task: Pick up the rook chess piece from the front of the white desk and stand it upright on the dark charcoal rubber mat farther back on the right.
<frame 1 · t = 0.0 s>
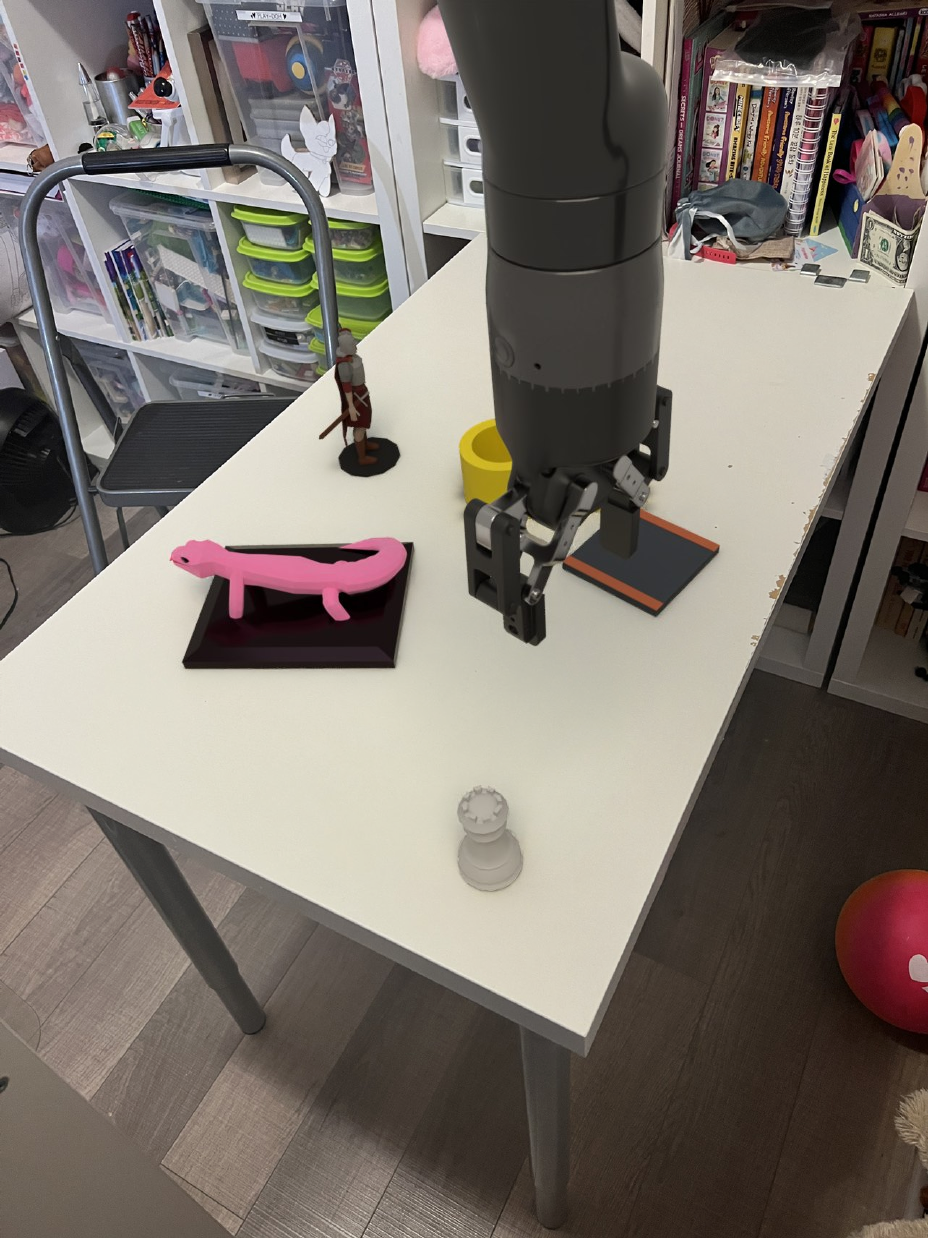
hand: (574, 591, 51), 20 cm above the table, tool pointing down, fingers open, 8 cm apart
mat: (640, 560, 80), on the table
rook chess piece: (491, 865, 61), on the table
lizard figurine: (299, 607, 80), on the table
crank: (555, 494, 87), on the table
figurine: (366, 459, 94), on the table
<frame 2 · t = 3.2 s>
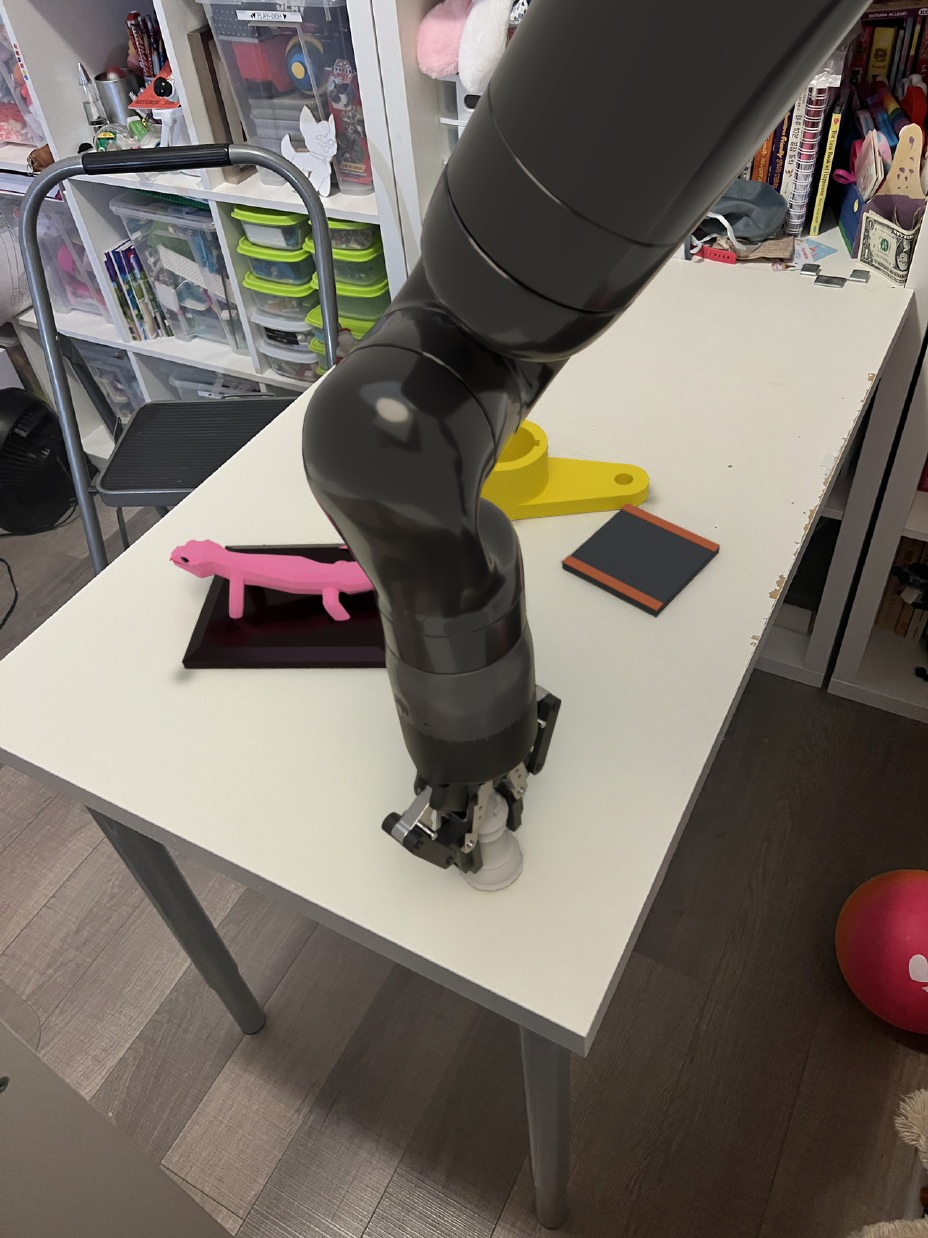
hand: (487, 840, 59), 3 cm above the table, tool pointing down, fingers closed on rook chess piece, 3 cm apart
rook chess piece: (491, 865, 61), on the table, touching gripper
everything else where it was.
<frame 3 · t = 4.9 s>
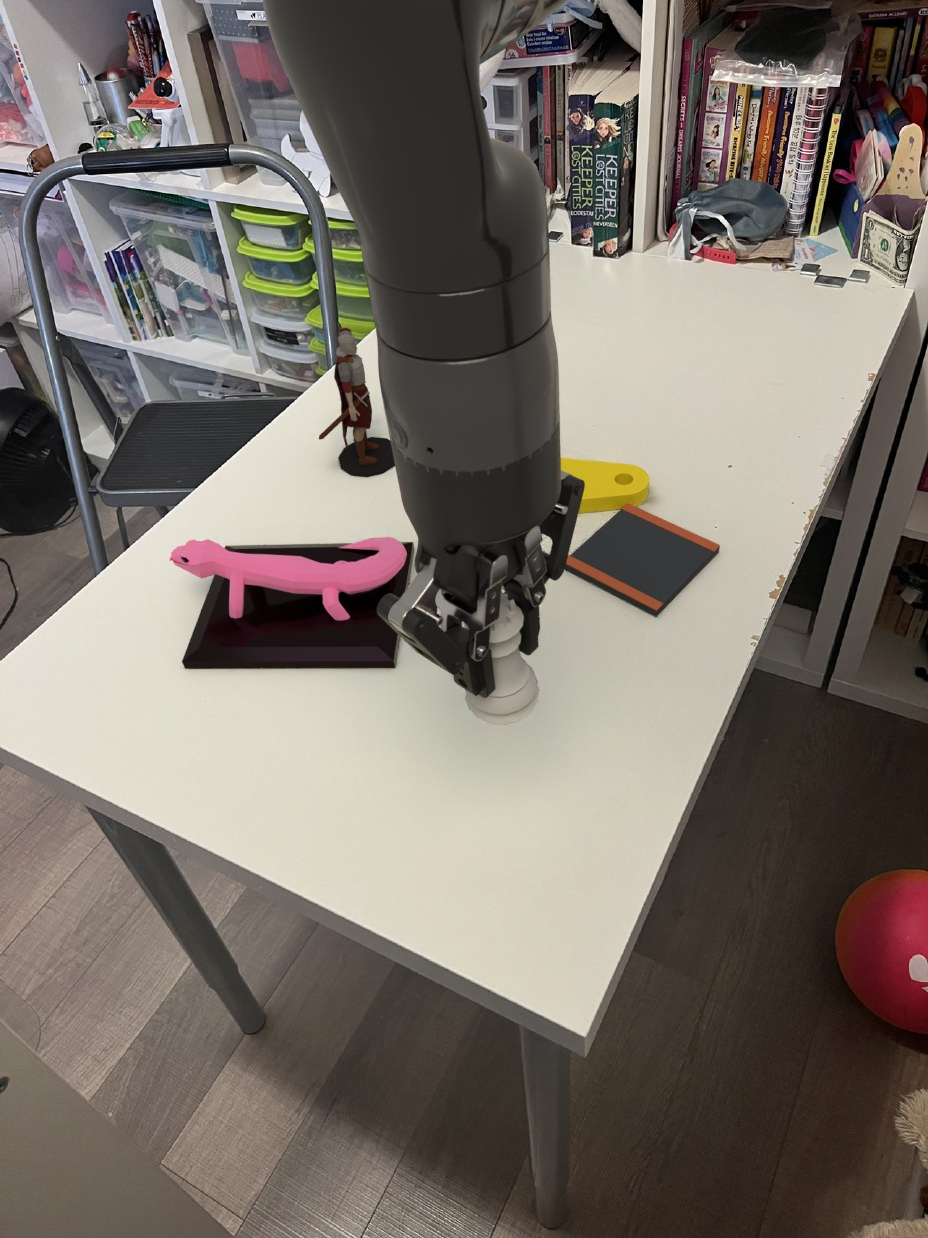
hand: (499, 665, 51), 17 cm above the table, tool pointing down, fingers closed on rook chess piece, 3 cm apart
rook chess piece: (502, 701, 53), point 14 cm above the table, touching gripper
everything else where it was.
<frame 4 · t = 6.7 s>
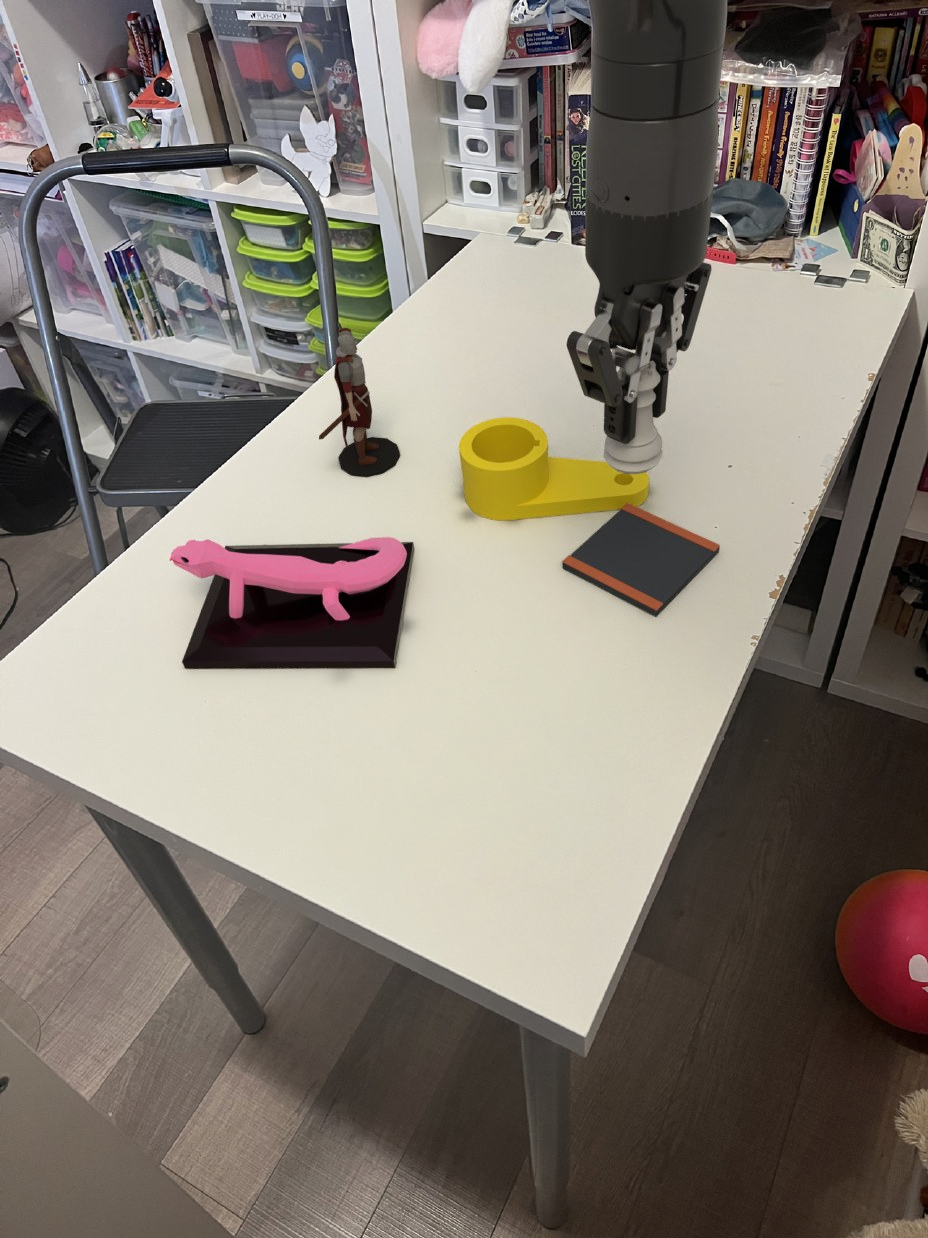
hand: (635, 424, 65), 17 cm above the table, tool pointing down, fingers closed on rook chess piece, 3 cm apart
rook chess piece: (632, 460, 68), point 14 cm above the table, touching gripper
everything else where it was.
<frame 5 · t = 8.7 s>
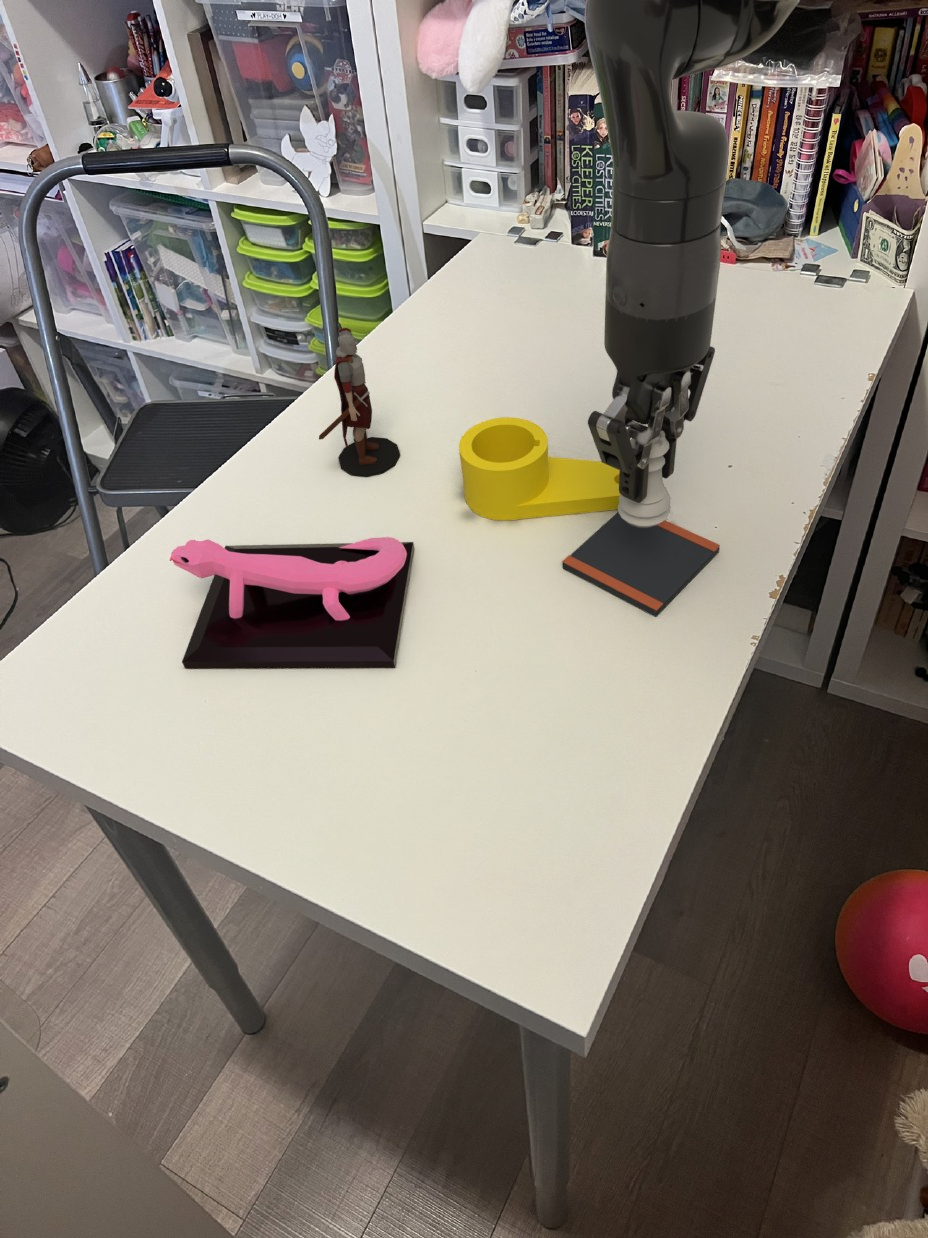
hand: (646, 484, 73), 9 cm above the table, tool pointing down, fingers closed on rook chess piece, 3 cm apart
rook chess piece: (643, 514, 76), point 5 cm above the table, touching gripper
everything else where it was.
when the fingers open (4 cm above the table, at t = 10.2 s): rook chess piece stays where it is, resting on mat.
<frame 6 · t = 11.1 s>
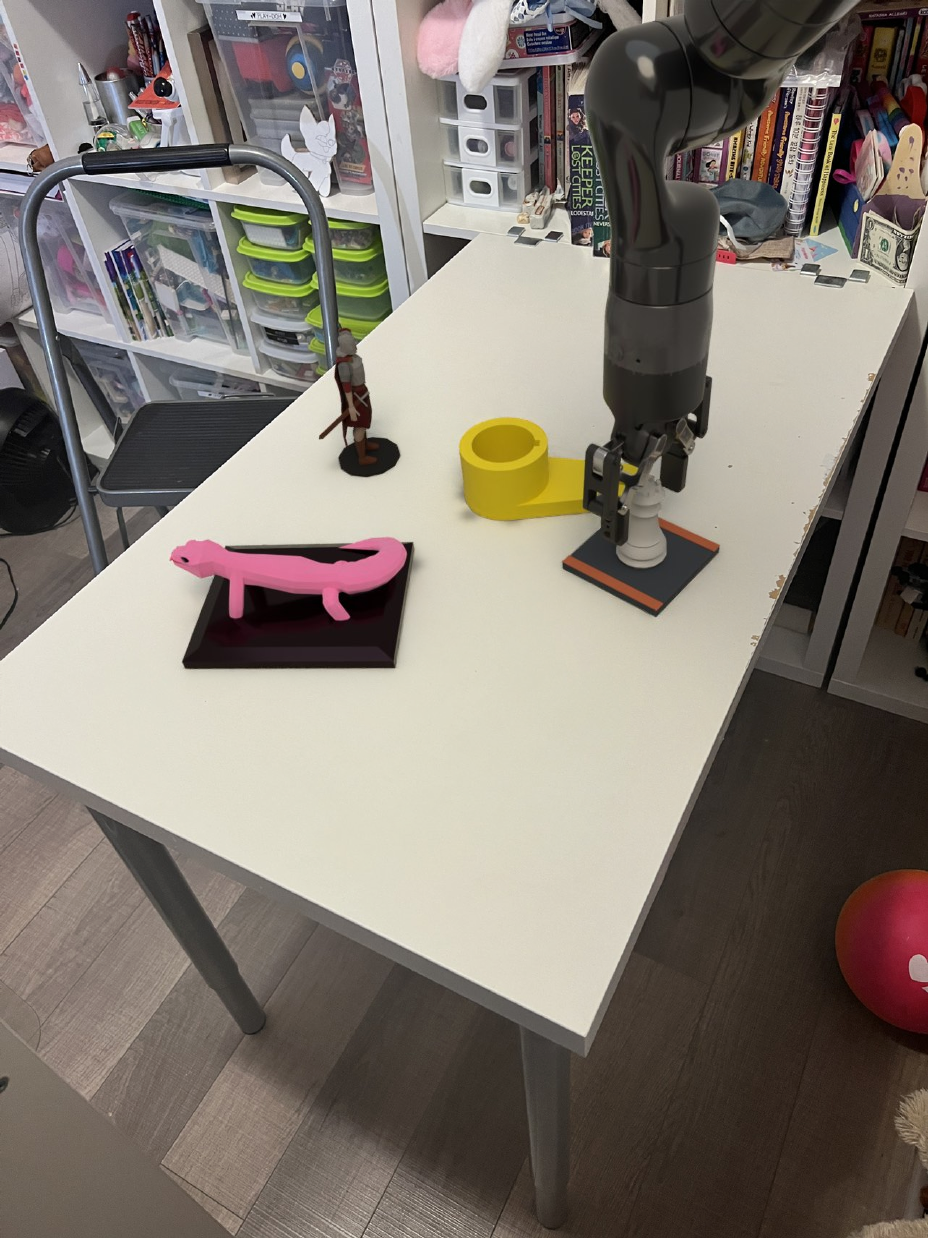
hand: (644, 513, 76), 6 cm above the table, tool pointing down, fingers open, 8 cm apart
rook chess piece: (640, 556, 79), point 1 cm above the table, touching mat
everything else where it was.
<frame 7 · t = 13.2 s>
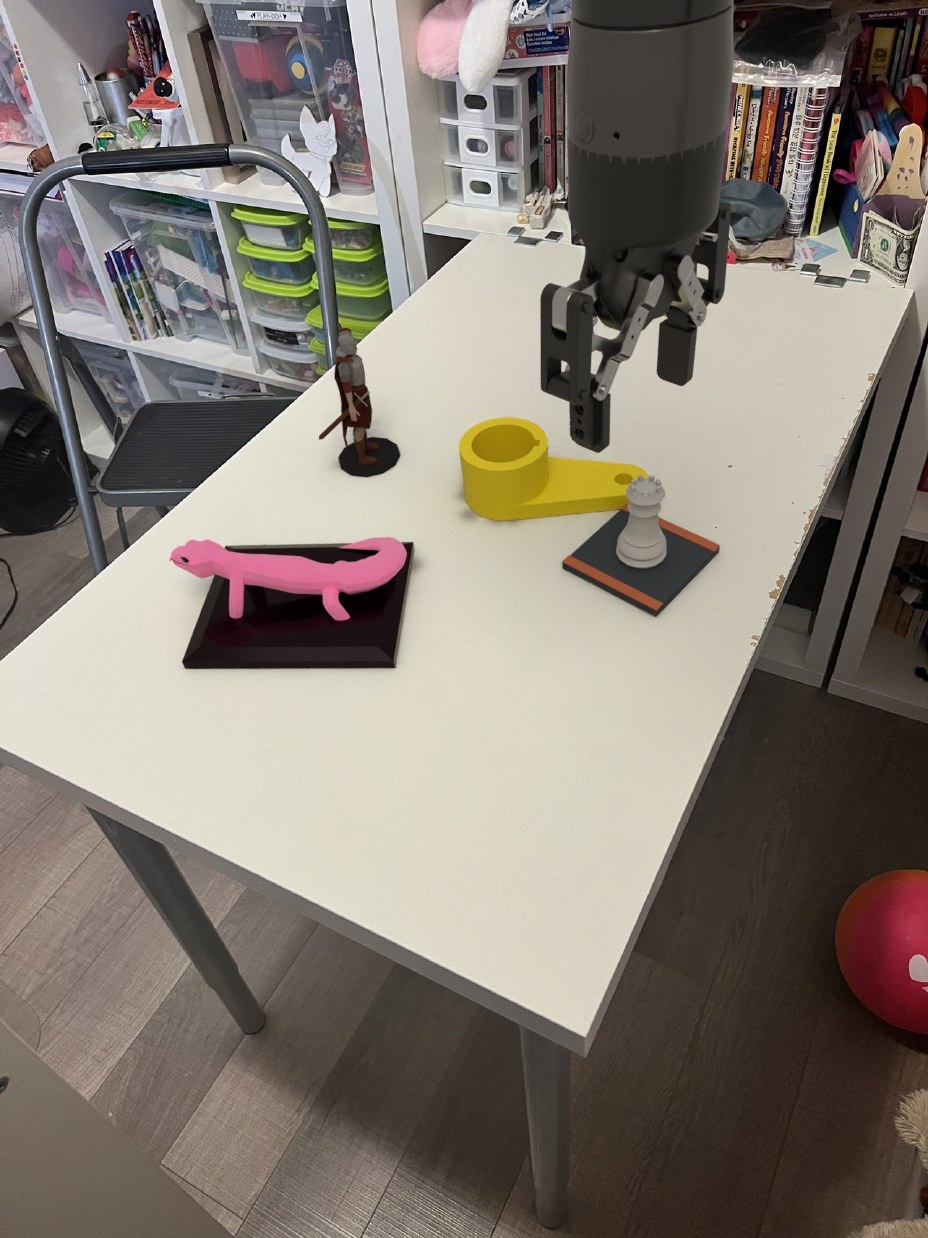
hand: (634, 411, 54), 24 cm above the table, tool pointing down, fingers open, 8 cm apart
nothing on the table moved.
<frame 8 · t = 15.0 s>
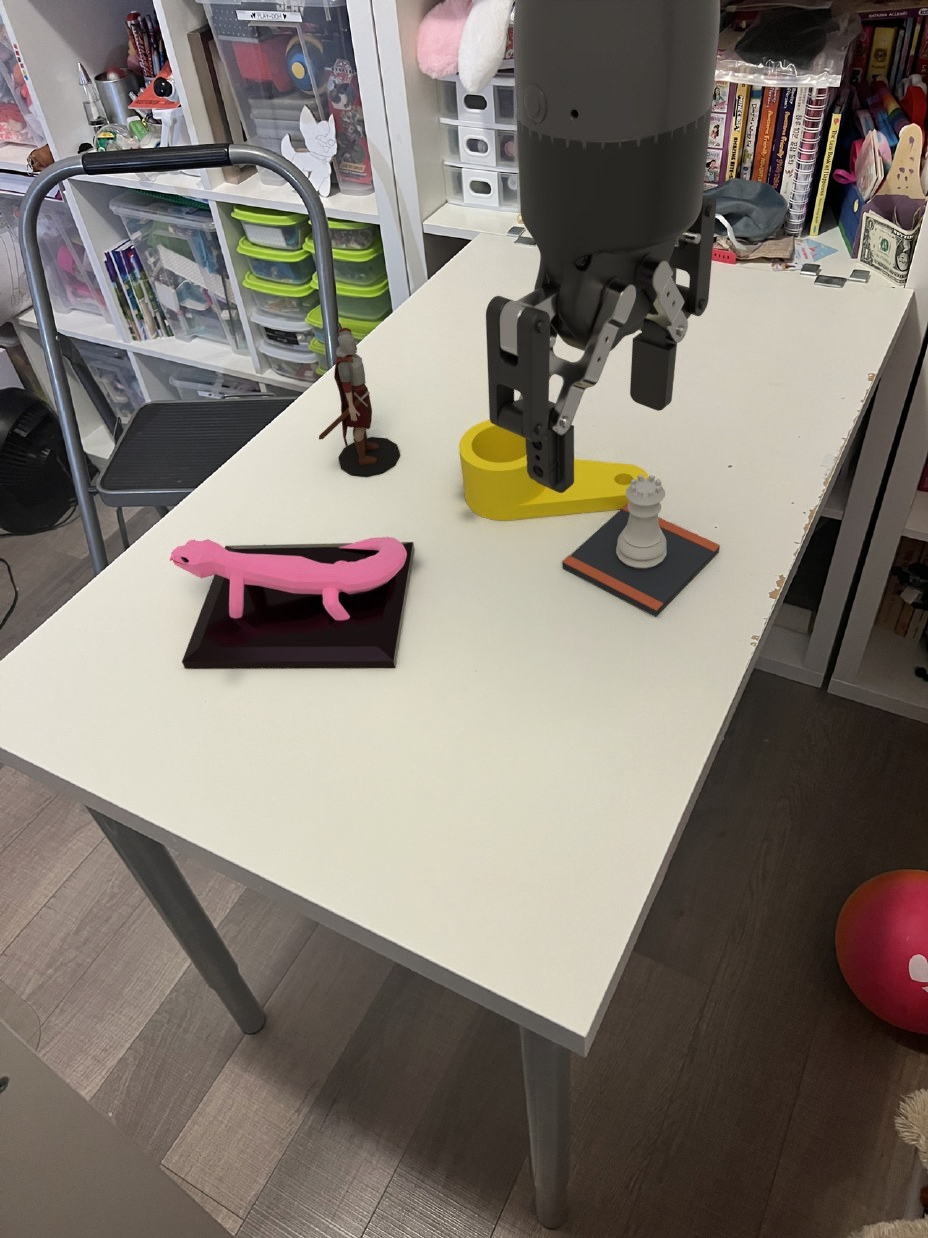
hand: (603, 441, 46), 28 cm above the table, tool pointing down, fingers open, 8 cm apart
nothing on the table moved.
at the end: rook chess piece inside the target area on the mat (0.0 cm from its centre), point 0.6 cm above the mat's base; rook chess piece tilted 0°; the gripper is holding nothing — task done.
